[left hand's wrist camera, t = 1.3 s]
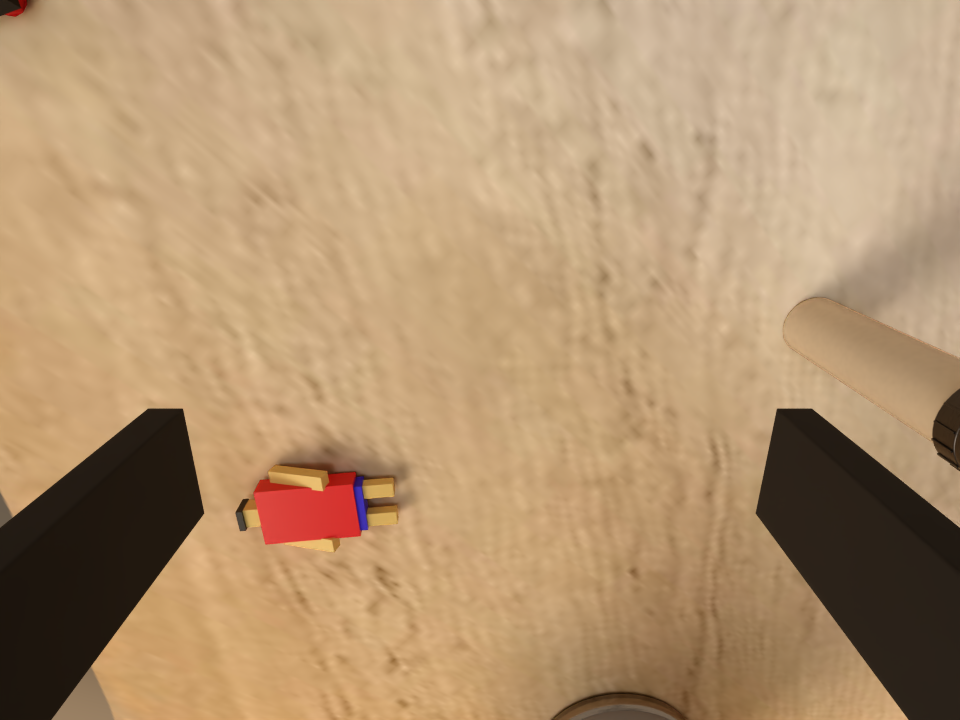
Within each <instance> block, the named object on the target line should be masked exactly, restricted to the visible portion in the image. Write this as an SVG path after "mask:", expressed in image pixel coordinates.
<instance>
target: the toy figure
mask: <svg viewBox="0 0 960 720" xmlns="http://www.w3.org/2000/svg"><path fill="white" fill-rule="evenodd" d="M268 474H269V479H267V480H260V481H259V483H258V485H257V487H256V489H255V491H254V497H255V499H253V500H249V499H243V500H242V502H241V504H240V505H239V507H238V509H237V511H236V517H237V521H238V525H239V529H240V531H246V529H247V528H248V527H258V526H261V527H262V532H263V536H264V540H265V544H277V543H284V544H285V545H291V546H297V547H303V548H310V549H316V550H322V551H328V552H335V551H336V549H337V548H338V547H339V546H340V541H339V538H345V537H356V536H361V532H362V530H368V527H369V526H378V525H389V524H398V510H397V505H396V506H385V507H373V508H368V502H367V499H370V498H382V497H394V493H395V487H394V479H393V478H382V479H370V480H364V476H361V477H356V472H350V473H338V474H328V473H327V471H322V470H314V469H305V468H296V467H288V466H279V465H275V466H274V467H273V468H271V469H270V470H269V471H268Z"/></svg>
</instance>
